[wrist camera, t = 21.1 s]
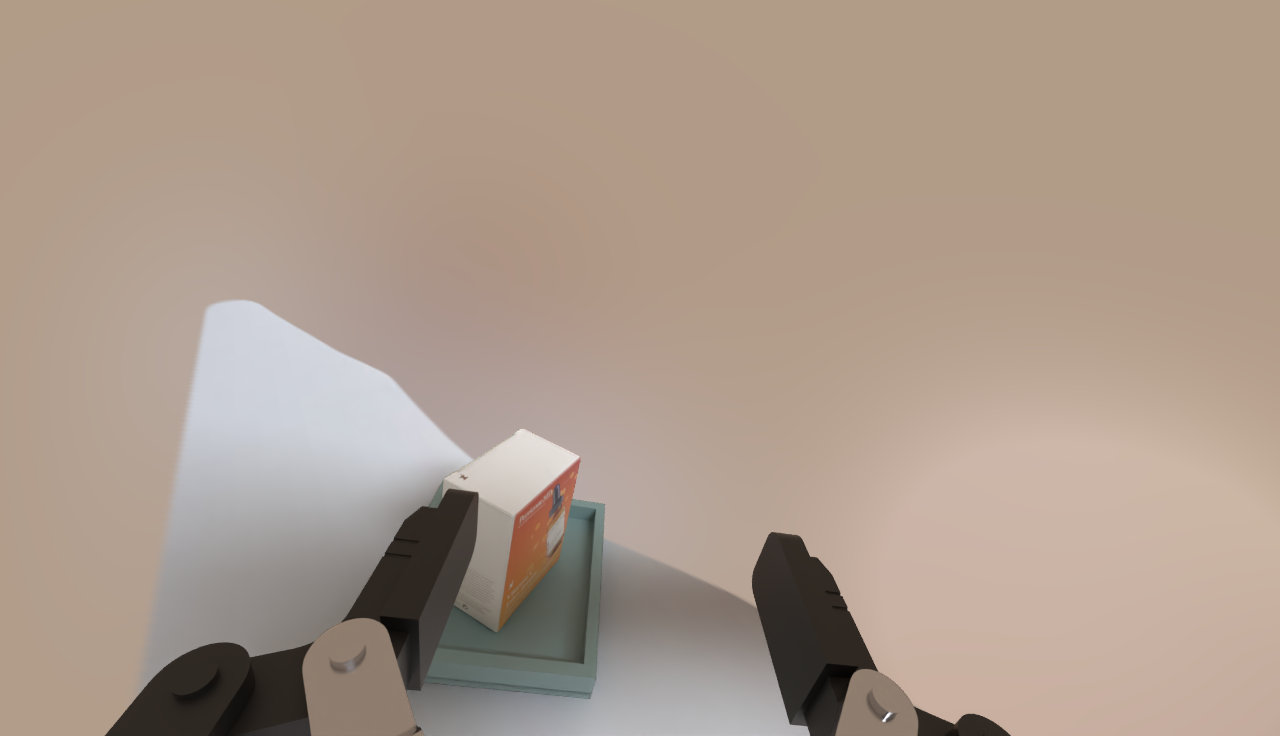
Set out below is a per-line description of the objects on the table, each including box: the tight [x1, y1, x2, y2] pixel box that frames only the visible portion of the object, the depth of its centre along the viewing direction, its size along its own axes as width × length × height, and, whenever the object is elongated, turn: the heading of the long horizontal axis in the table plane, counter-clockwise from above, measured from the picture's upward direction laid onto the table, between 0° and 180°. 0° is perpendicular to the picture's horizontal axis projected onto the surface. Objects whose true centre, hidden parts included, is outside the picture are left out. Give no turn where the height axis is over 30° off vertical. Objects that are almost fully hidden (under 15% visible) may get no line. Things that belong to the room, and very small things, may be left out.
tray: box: [424, 482, 605, 699], centre depth 35 cm, size 15×16×2 cm
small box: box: [442, 429, 581, 632], centre depth 33 cm, size 8×6×10 cm
